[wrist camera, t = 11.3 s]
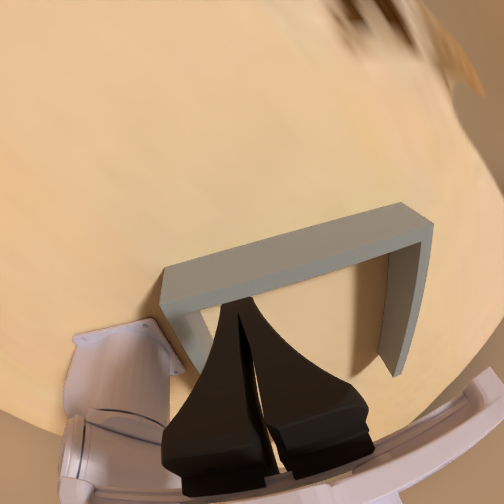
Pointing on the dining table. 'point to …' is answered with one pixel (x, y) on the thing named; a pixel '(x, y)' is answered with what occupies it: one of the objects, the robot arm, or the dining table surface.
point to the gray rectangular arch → (307, 275)
